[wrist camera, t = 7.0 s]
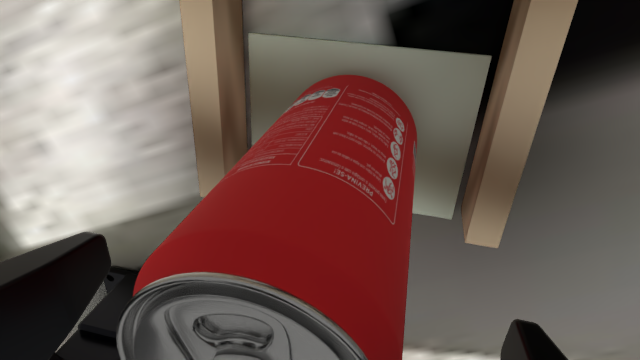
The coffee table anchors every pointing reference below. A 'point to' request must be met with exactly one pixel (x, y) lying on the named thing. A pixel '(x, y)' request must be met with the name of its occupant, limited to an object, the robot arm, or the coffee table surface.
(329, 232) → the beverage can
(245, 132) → the bay
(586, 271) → the coffee table surface
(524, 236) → the coffee table surface
